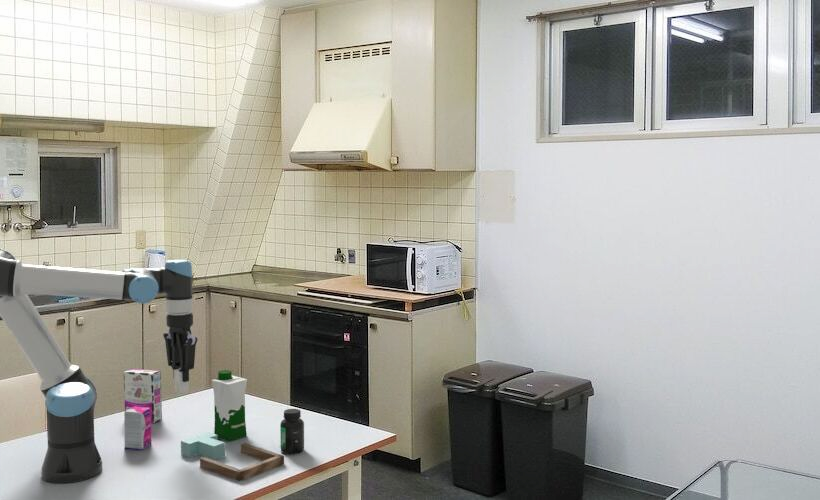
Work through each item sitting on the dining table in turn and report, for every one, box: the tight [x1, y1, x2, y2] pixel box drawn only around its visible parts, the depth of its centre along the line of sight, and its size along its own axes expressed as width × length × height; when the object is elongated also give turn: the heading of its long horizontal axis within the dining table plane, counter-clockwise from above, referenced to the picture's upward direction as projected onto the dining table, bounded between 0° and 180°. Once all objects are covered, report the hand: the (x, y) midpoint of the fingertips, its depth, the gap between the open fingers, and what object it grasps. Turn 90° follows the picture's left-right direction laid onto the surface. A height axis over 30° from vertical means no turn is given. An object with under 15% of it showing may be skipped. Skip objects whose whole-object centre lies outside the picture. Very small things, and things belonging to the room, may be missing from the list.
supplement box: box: [123, 406, 152, 451], centre depth 237 cm, size 6×6×12 cm
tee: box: [180, 431, 226, 461], centre depth 232 cm, size 10×11×4 cm
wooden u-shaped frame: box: [199, 442, 285, 482], centre depth 223 cm, size 16×16×2 cm
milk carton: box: [211, 369, 248, 442], centre depth 246 cm, size 9×9×20 cm
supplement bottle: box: [279, 408, 305, 456], centre depth 235 cm, size 7×7×12 cm
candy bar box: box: [123, 368, 163, 424], centre depth 262 cm, size 11×5×16 cm, turn 73°
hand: (181, 391), depth 238 cm, fingers open, 2 cm apart
